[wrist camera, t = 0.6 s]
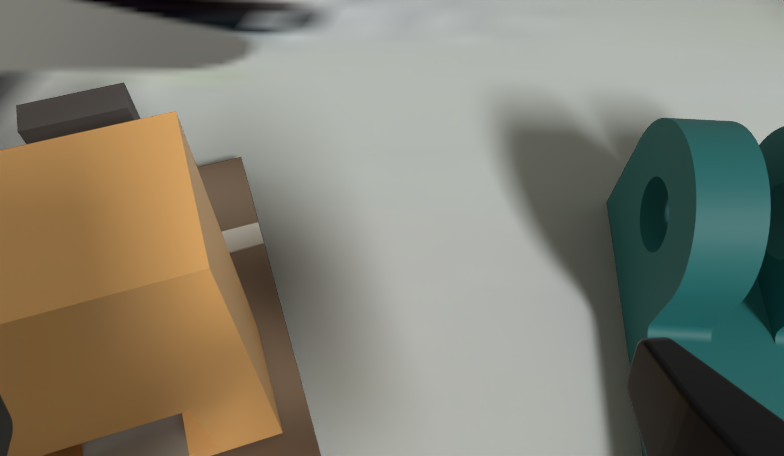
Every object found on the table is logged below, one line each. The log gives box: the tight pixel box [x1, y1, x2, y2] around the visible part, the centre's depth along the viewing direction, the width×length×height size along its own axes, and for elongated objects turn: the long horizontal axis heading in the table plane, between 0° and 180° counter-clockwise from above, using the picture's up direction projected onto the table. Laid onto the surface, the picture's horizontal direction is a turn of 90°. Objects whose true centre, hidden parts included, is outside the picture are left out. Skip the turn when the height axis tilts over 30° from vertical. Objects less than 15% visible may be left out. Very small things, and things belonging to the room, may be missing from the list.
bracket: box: [607, 118, 784, 456], centre depth 21 cm, size 18×7×8 cm, turn 177°
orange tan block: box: [0, 111, 283, 456], centre depth 18 cm, size 4×8×12 cm, turn 108°
